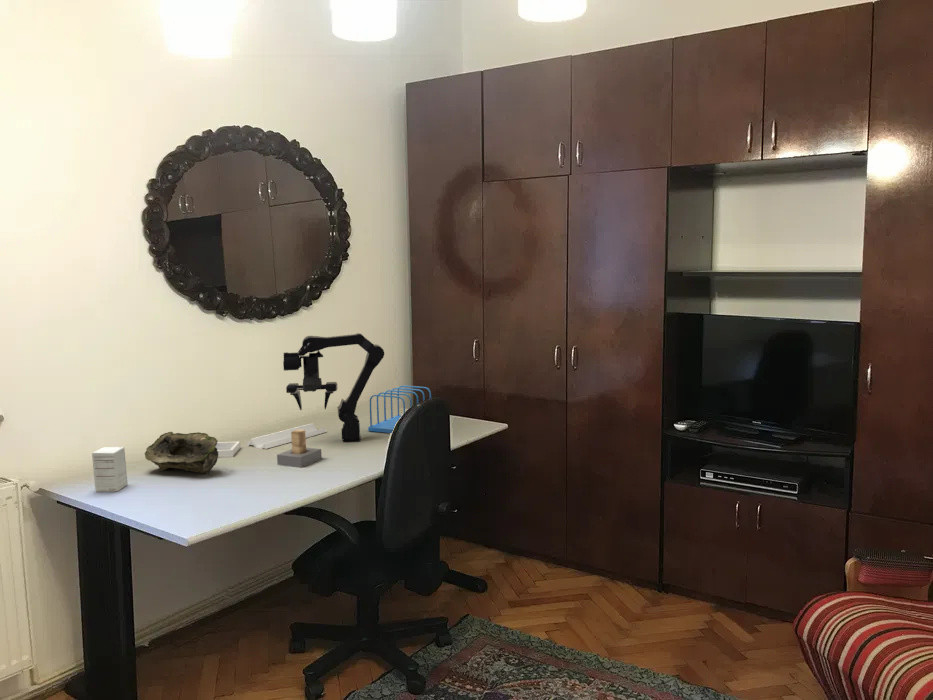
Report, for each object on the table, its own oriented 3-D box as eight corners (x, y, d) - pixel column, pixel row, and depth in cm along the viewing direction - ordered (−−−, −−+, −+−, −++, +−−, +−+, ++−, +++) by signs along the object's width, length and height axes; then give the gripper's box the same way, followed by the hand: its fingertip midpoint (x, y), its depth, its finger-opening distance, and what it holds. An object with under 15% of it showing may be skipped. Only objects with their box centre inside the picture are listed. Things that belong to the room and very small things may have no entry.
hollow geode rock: (219, 488, 266) (240, 449, 273) (197, 470, 256) (219, 430, 264) (159, 476, 278) (181, 439, 286) (136, 458, 269) (159, 421, 277)
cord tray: (240, 447, 301) (239, 441, 300) (232, 456, 288) (232, 450, 287) (205, 449, 300) (204, 442, 300) (196, 458, 287) (195, 451, 287)
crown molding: (266, 451, 298) (265, 441, 297) (245, 447, 305) (244, 438, 304) (326, 434, 323) (326, 425, 322) (306, 430, 330) (305, 422, 329)
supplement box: (105, 485, 256) (102, 446, 255) (128, 484, 256) (125, 446, 255) (94, 492, 249) (91, 452, 248) (117, 491, 249) (114, 452, 247)
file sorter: (405, 435, 315) (404, 397, 313) (367, 432, 322) (366, 394, 320) (433, 422, 338) (432, 386, 336) (397, 419, 345) (396, 384, 343)
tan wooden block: (299, 457, 281) (298, 429, 280) (306, 457, 280) (305, 430, 279) (292, 459, 278) (291, 431, 276) (299, 460, 276) (298, 432, 275)
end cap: (298, 456, 287) (298, 446, 286) (321, 458, 282) (321, 449, 282) (277, 464, 276) (276, 454, 275) (301, 467, 272) (300, 457, 271)
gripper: (282, 373, 294) (285, 414, 296) (333, 371, 295) (335, 413, 297) (287, 368, 305) (289, 408, 307) (336, 367, 306) (338, 407, 308)
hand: (313, 409), depth 304 cm, fingers open, 9 cm apart
